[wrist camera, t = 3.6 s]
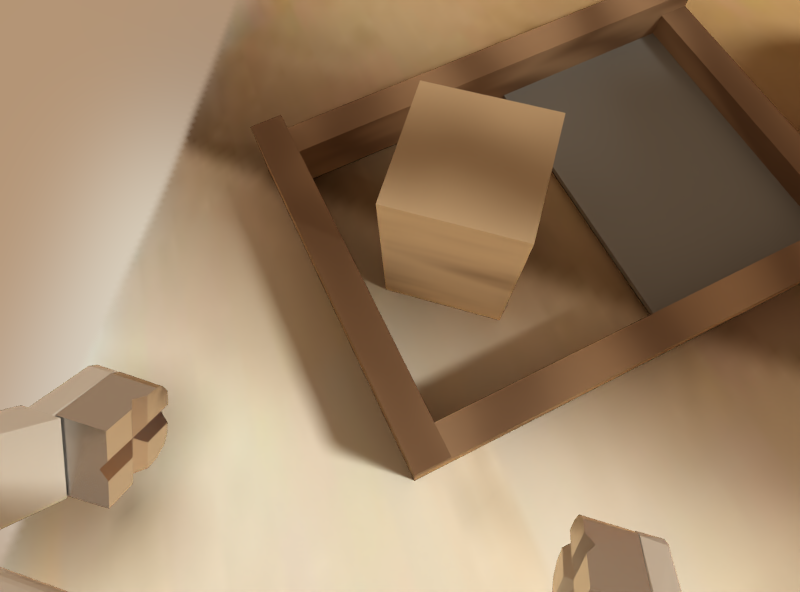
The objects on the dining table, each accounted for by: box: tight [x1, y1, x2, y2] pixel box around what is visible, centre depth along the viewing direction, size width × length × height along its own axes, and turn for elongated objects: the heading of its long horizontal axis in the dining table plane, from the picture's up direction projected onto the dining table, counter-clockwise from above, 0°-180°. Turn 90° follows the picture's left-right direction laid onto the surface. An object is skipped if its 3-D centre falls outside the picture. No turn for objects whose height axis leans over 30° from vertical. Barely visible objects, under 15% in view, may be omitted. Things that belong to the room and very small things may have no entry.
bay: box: [251, 0, 800, 481], centre depth 26 cm, size 24×17×4 cm
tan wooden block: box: [376, 80, 566, 320], centre depth 24 cm, size 6×6×8 cm
